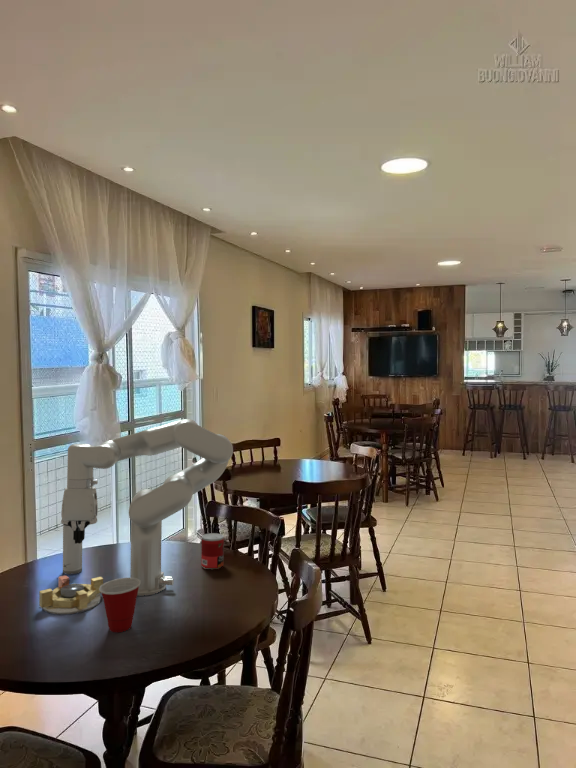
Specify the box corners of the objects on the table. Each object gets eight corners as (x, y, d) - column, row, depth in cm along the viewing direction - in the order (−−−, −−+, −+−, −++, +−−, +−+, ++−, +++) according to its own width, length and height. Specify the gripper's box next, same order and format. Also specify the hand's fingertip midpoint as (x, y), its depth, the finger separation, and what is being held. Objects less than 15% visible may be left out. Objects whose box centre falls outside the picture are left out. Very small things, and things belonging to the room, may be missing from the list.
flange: (109, 593, 169) (109, 579, 169) (86, 615, 153) (86, 600, 153) (57, 591, 170) (57, 577, 170) (30, 613, 154) (30, 597, 154)
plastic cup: (107, 618, 151) (107, 575, 151) (145, 619, 151) (145, 576, 151) (91, 636, 141) (92, 590, 140) (133, 637, 140) (133, 591, 140)
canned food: (222, 570, 190) (222, 539, 190) (199, 570, 190) (199, 539, 190) (224, 563, 197) (225, 533, 197) (203, 562, 198) (203, 532, 197)
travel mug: (63, 576, 183) (64, 517, 182) (61, 569, 188) (62, 512, 188) (83, 573, 185) (83, 515, 185) (80, 567, 191) (81, 510, 191)
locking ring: (105, 590, 168) (105, 576, 168) (84, 609, 154) (84, 595, 154) (60, 588, 169) (60, 575, 169) (36, 607, 155) (36, 593, 155)
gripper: (107, 481, 173) (106, 538, 173) (59, 481, 172) (57, 538, 172) (101, 486, 166) (100, 545, 166) (51, 486, 164) (50, 546, 164)
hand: (78, 542), depth 169 cm, fingers closed
